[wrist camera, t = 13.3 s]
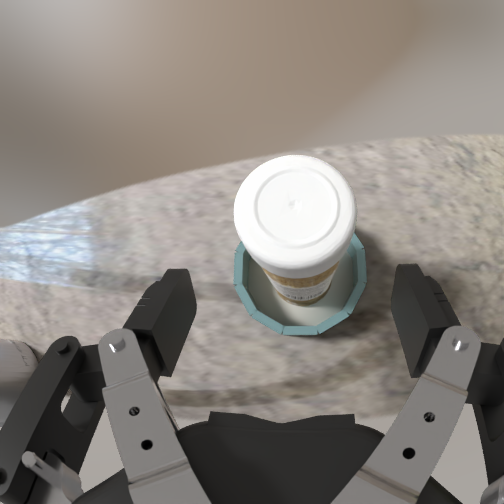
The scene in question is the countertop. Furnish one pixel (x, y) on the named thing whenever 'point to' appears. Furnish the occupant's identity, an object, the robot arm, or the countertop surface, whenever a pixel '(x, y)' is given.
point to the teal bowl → (301, 317)
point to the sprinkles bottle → (296, 224)
